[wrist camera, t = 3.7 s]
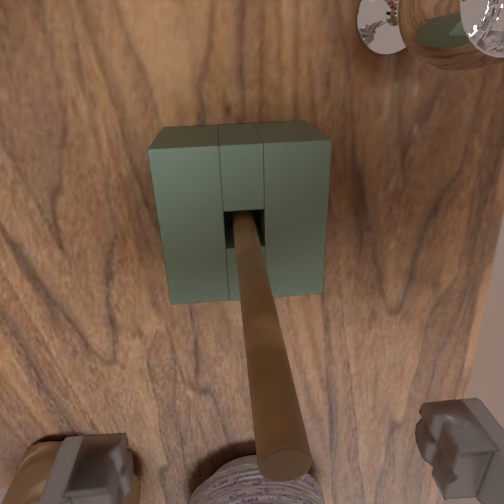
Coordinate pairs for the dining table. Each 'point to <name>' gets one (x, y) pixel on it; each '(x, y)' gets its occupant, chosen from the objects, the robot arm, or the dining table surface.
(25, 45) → the dining table surface
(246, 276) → the stirring stick
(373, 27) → the wineglass
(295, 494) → the paper bowls
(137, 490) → the container
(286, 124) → the stick stand
